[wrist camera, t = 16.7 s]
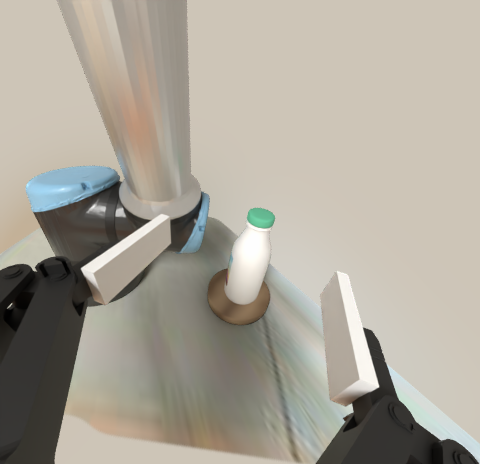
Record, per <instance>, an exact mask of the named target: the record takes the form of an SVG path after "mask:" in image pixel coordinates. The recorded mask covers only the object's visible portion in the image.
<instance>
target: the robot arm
mask: <svg viewBox="0 0 480 464" xmlns="http://www.w3.org/2000/svg"><path fill="white" fill-rule="evenodd" d="M57 2H58V5H59V7H60V10H61V12H62V15H63V18H64V20H65V23H66V26H67V28H68V31H69V33H70V36H71V38H72V41H73V44H74V46H75V49H76V52H77V54H78V57H79V60H80V62H81V65H82V67H83V70H84V73H85V75H86V78H87V80H88V83H89V86H90V88H91V91H92V93H93V96H94V99H95V101H96V104H97V107H98V109H99V112H100V114H101V117H102V119H103V122H104V125H105V128H106V130H107V133H108V135H109V138H110V140H111V143H112V146H113V148H114V151H115V154H116V156H117V159H118V162H119V164H120V167H121V169H122V172H123V175H124V177H125V179H124V180H123V182H120V181H119V179H120V176H119V175H118V173H117V172H116V171H115V170H114V169H111V168H108V167H102V166H80V167H69V168H63V169H58V170H53V171H49V172H46V173H43V174H40V175H38V176H36V177H34V178H32V179H31V180H30V181H29V182H28V183H27V185H26V193H27V195H28V198H29V201H30V203H31V210H32V211H33V213H34V214H35V217H36V219H37V220H38V222H39V224H40V226H41V228H42V230H43V232H44V234H45V236H46V238H47V240H48V242H49V244H50V246H51V248H52V250H53V252H54V253H55V256H56V257H51V258H48V259H45V260H43V261H41V262H40V263H38V264H37V265H36V267H35V268H36V270H37V272H35V271H33V270H32V268H31V267H30V266H29V265H26V264H17V265H13V266H9V267H7V268H4V269H2V270H0V464H55V463H54V459H55V452H56V447H57V442H58V438H59V433H60V429H61V424H62V420H63V415H64V410H65V406H66V401H67V397H68V392H69V387H70V383H71V378H72V374H73V369H74V364H75V360H76V355H77V351H78V346H79V341H80V337H81V332H82V328H83V323H84V318H85V314H86V309H87V307H88V306H98V305H106V304H107V303H110V302H112V301H115V300H117V299H119V298H121V297H123V296H125V295H126V294H128V293H129V292H130V291H132V290H133V289H134V288H135V287H136V286H137V285H138V284H139V282H140V281H141V279H142V277H143V273H144V268H145V267H147V266H148V265H149V264H150V263H151V262H152V261H153V260H154V259H155V258H156V257H157V256H158V255H159V254H160V253H161V252H162V251H165V252H175V253H177V254H181V253H195V252H196V251H198V250H199V248H200V246H201V244H202V240H203V236H204V232H205V226H206V222H207V217H208V210H209V202H210V201H209V200H210V198H209V195H208V194H206V193H204V192H201V188H200V185H199V182H198V181H197V179H196V178H195V177H194V176H193V175H192V174H191V161H190V117H189V76H188V36H187V35H188V34H187V0H57ZM320 298H321V309H322V320H323V331H324V341H325V352H326V363H327V374H328V385H329V396H330V400H331V401H334V402H336V403H339V404H341V405H343V406H347V405H349V404H351V403H352V405H353V411H354V412H353V413H351V414H349V415H347V416H346V417H344V418H343V419H344V421H346V422H345V423H344V424H343V426H342V427H341V429H340V430H339V432H338V433H337V434H336V436H335V437H334V439H333V440H332V441H331V443H330V444H329V446H328V447H327V448H326V450H325V451H324V453H323V454H322V455H321V457H320V458H319V460H318V461H317V462H316V464H479V463H478V462H477V460H476V459H475V458H474V456H473V455H472V454H471V453H470V452H469V451H468V450H467V449H466V448H465V447H464V446H462V445H461V444H459V443H458V442H456V441H454V440H450V439H446V440H442V441H441V440H439V439H438V438H437V437H435V436H434V435H433V434H431V433H430V432H429V431H427V430H426V429H425V428H423V427H422V426H421V425H419V424H418V423H417V422H416V421H415V420H414V418H413V416H412V414H411V412H410V411H409V410H408V409H407V407H406V406H405V405H404V404H403V403H402V402H400V401H399V399H398V397H397V394H396V391H395V388H394V385H393V382H392V379H391V376H390V373H389V370H388V367H387V364H386V362H385V359H384V355H383V353H382V350H381V346H380V343H379V341H378V339H377V338H376V336H375V335H374V333H373V332H372V331H371V330H369V329H366V328H363V327H362V324H361V320H360V316H359V313H358V309H357V306H356V302H355V298H354V295H353V291H352V288H351V284H350V281H349V277H348V274H345V273H342V272H339V271H336V273H335V274H334V275H333V277H332V278H331V280H330V281H329V283H328V284H327V286H326V287H325V289H324V290H323V292H322V293H321V295H320ZM11 303H12V305H11V306H10V307H9V308H8V306H9V305H10V304H11ZM7 308H8V309H7Z"/></svg>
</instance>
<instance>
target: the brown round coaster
mask: <svg viewBox="0 0 480 464" xmlns="http://www.w3.org/2000/svg"><path fill="white" fill-rule="evenodd" d="M227 270H228V269H224V270H222V271H220V272H218V273H217V274H215V275H214V276H213V278H212V279H211V281H210V283H209V287H208V303H209V305H210V307H211V309H212V311H213V312H214V313H215V314H216V315H217V316H218V317H219V318H221V319H222V320H224V321H226V322H228V323H231V324H235V325H247V324H251V323H254V322H256V321H257V320H259V319H260V318H261V317H262V316H263V315H264V313H265V311H266V309H267V307H268V304H269V300H270V294H269V290H268V287H267V285H266V284H265V282H264V281H263V282H262V285H261V288H260V291H259V293H258V296H257V298H256V299H255V300H254V301H253V302H251V303H250V304H246V305H240V304H236V303H234V302H232V301H231V300H230V299H229V298H228V297H227V296H226V293H225V290H224V286H225V280H226V275H227Z"/></svg>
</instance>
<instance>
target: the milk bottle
mask: <svg viewBox="0 0 480 464" xmlns="http://www.w3.org/2000/svg"><path fill="white" fill-rule="evenodd" d="M274 220H275V216H274V215H273V213H272V212H270V211H268V210H266V209H262V208H253V209H250V210H249V212H248V216H247V220H246V223H247V226H246V228H245V229H244V231H243V232H242V233H241V235H240V236H239V237H238V238H237V239H236V241H235V243H234V245H233V248H232V252H231V256H230V260H229V265H228V270H227V275H226V280H225V286H224V290H225V293H226V296H227V297H228V298H229V299H230V300H231V301H232V302H234V303H236V304H240V305H246V304H250V303H251V302H253V301H254V300H255V299H256V298H257V296H258V293H259V291H260V288H261V285H262V282H263V279H264V277H265V274H266V271H267V268H268V265H269V261H270V258H271V244H270V238H269V232H270V230H271V229H272V226H273V223H274Z"/></svg>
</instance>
